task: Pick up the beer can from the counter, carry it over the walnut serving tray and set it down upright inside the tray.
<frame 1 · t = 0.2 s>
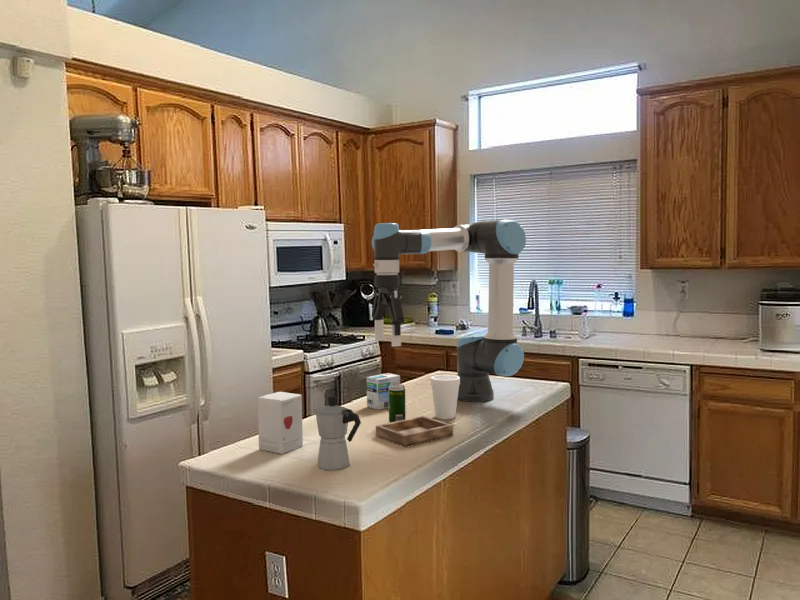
hand: (387, 343, 202), 26 cm above the countertop, tool pointing down, fingers open, 13 cm apart
light bulb box: (383, 406, 233), on the countertop
beer can: (397, 423, 210), on the countertop
tray: (414, 436, 195), on the countertop
coffee maker: (337, 466, 169), on the countertop
supplement box: (281, 448, 185), on the countertop
foam cup: (445, 417, 217), on the countertop
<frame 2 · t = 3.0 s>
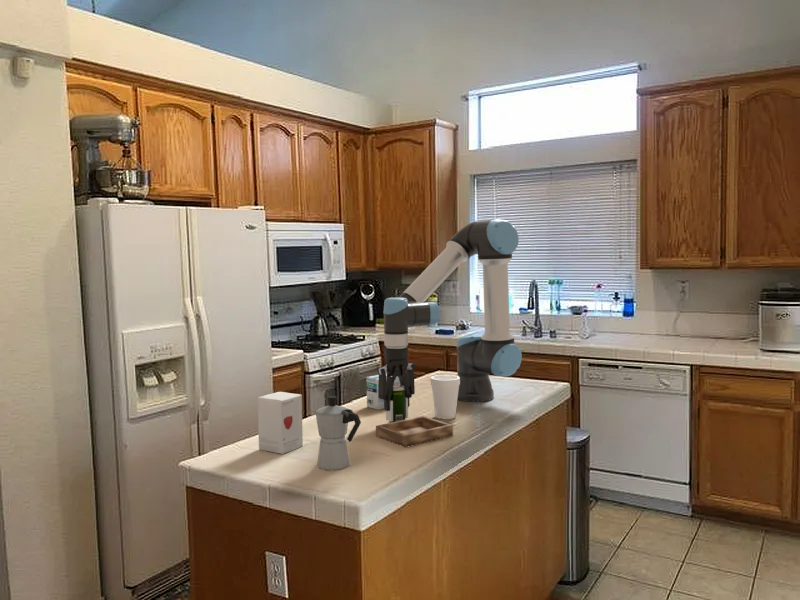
hand: (397, 418, 210), 1 cm above the countertop, tool pointing down, fingers closed on beer can, 5 cm apart
beer can: (397, 423, 210), on the countertop, touching gripper
everything else where it was.
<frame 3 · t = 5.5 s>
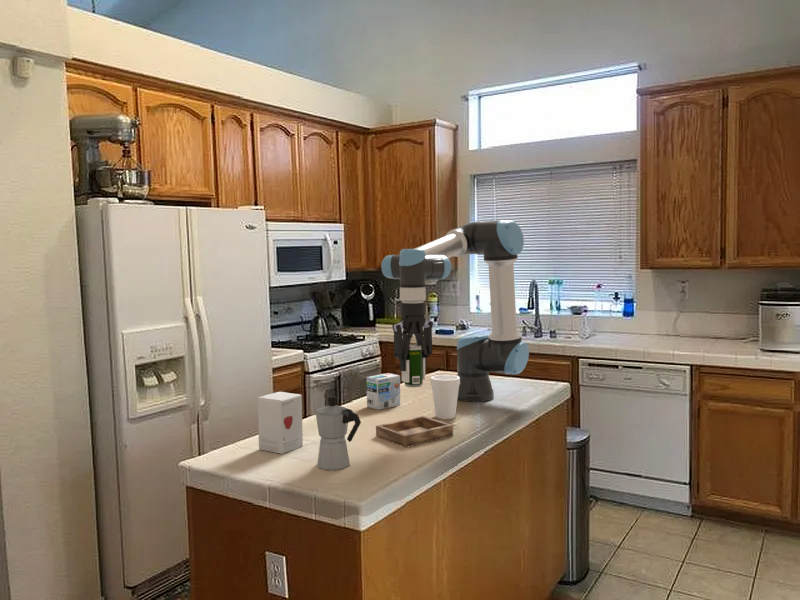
hand: (413, 380, 194), 17 cm above the countertop, tool pointing down, fingers closed on beer can, 5 cm apart
beer can: (413, 386, 194), point 15 cm above the countertop, touching gripper
everything else where it was.
when the fingers open (4 cm above the countertop, at t = 8.5 s): beer can drops 1 cm, resting on tray.
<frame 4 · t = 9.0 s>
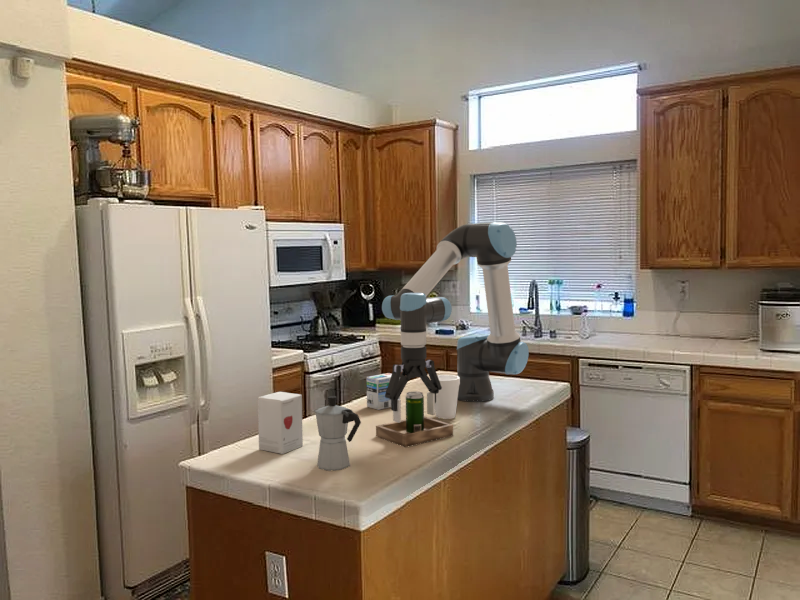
hand: (414, 418, 195), 5 cm above the countertop, tool pointing down, fingers open, 12 cm apart
beer can: (414, 433, 195), point 1 cm above the countertop, touching tray
everything else where it was.
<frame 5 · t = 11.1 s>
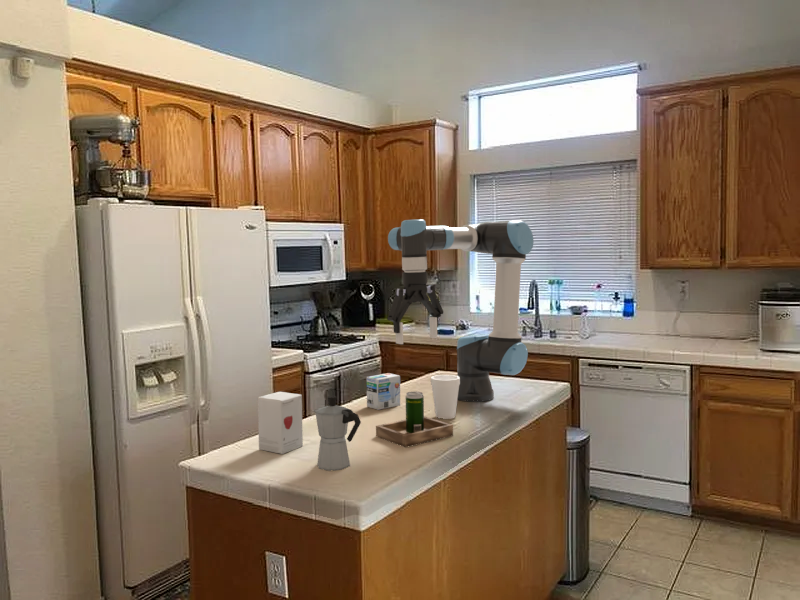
hand: (417, 340, 201), 27 cm above the countertop, tool pointing down, fingers open, 13 cm apart
nothing on the countertop moved.
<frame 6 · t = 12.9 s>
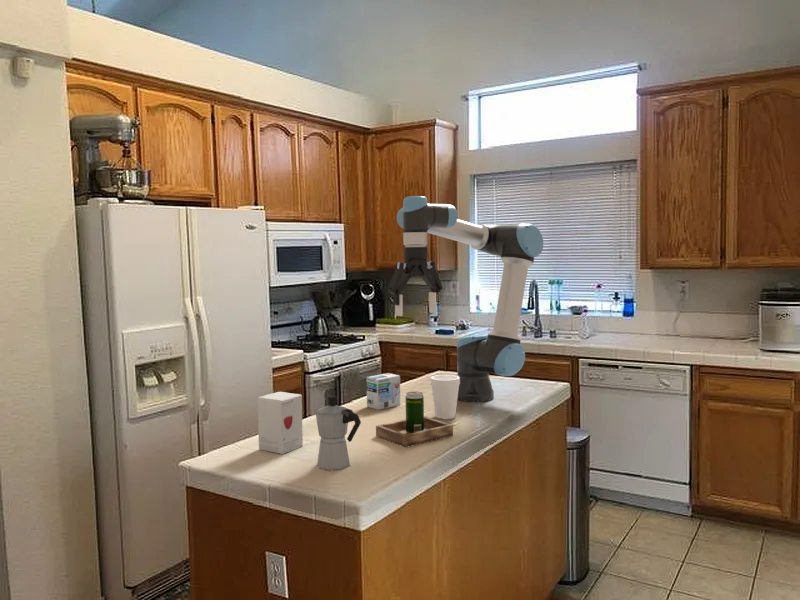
hand: (416, 314, 207), 35 cm above the countertop, tool pointing down, fingers open, 13 cm apart
nothing on the countertop moved.
at the end: beer can inside the target area on the tray (0.2 cm from its centre), point 0.6 cm above the tray's base; beer can tilted 0°; the gripper is holding nothing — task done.
